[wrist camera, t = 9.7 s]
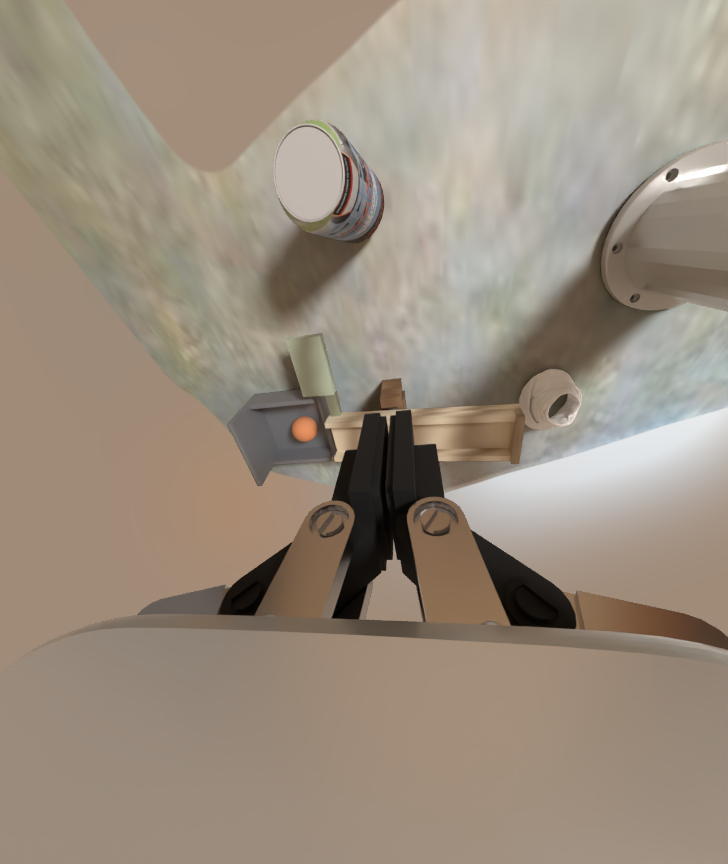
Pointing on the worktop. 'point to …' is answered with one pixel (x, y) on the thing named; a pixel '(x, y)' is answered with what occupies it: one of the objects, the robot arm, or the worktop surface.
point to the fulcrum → (392, 395)
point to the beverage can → (326, 183)
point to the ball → (304, 428)
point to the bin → (280, 431)
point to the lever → (413, 415)
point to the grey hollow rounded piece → (549, 399)
